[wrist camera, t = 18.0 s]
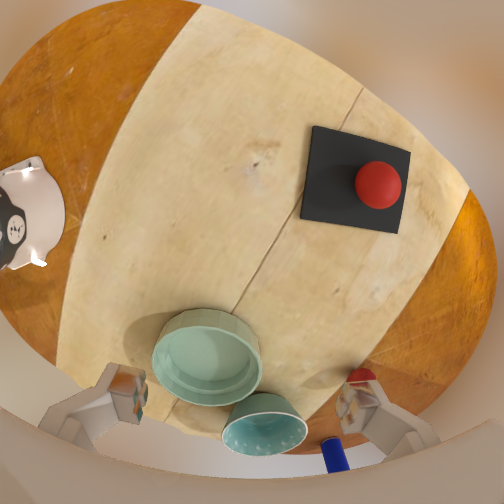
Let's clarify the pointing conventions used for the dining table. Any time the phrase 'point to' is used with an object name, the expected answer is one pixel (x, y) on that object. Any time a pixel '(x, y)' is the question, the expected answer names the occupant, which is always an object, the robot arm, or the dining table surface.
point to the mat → (349, 180)
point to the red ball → (378, 185)
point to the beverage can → (334, 455)
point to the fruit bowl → (207, 358)
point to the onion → (361, 375)
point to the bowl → (263, 426)
